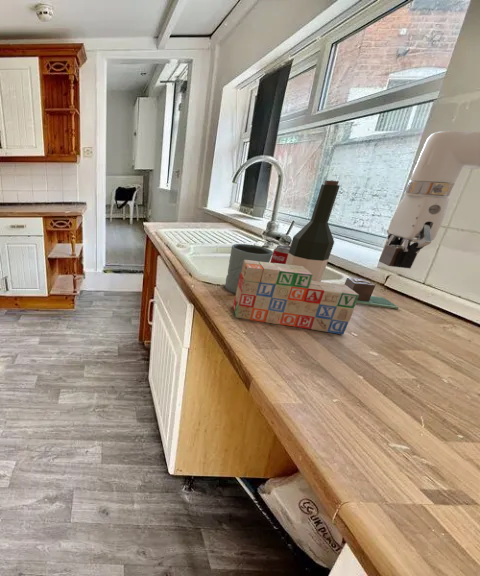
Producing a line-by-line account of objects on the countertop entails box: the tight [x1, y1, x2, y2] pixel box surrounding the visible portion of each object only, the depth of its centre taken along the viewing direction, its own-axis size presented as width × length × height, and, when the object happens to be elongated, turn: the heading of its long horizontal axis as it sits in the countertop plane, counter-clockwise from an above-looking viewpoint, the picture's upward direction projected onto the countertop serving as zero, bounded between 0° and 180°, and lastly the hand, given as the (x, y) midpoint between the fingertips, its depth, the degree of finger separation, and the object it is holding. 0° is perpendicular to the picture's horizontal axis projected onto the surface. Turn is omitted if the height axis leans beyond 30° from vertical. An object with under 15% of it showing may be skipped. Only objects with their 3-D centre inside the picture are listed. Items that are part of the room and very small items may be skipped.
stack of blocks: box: [232, 260, 359, 335], centre depth 67 cm, size 21×6×12 cm, turn 73°
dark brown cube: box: [343, 277, 376, 301], centre depth 83 cm, size 5×5×5 cm
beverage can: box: [269, 245, 291, 264], centre depth 87 cm, size 6×6×12 cm
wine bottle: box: [286, 180, 341, 282], centre depth 74 cm, size 8×8×30 cm
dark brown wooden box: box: [378, 244, 419, 269], centre depth 78 cm, size 5×5×5 cm
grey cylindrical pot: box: [224, 243, 273, 294], centre depth 84 cm, size 10×10×12 cm
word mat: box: [356, 295, 399, 310], centre depth 83 cm, size 11×7×1 cm, turn 75°
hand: (394, 263), depth 78 cm, fingers closed on dark brown wooden box, 4 cm apart
